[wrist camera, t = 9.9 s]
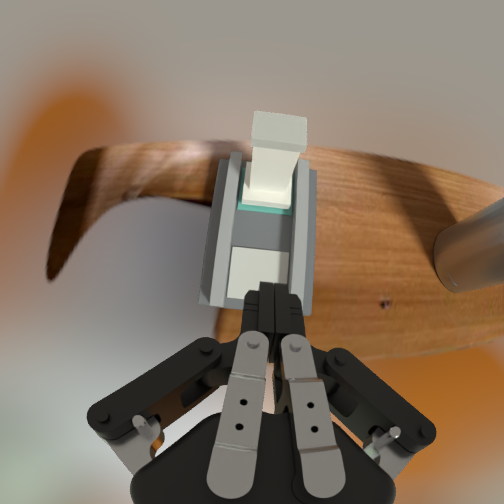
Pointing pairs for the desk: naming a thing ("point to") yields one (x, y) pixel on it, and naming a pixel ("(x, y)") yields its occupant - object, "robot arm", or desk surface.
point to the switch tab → (273, 158)
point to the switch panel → (258, 239)
